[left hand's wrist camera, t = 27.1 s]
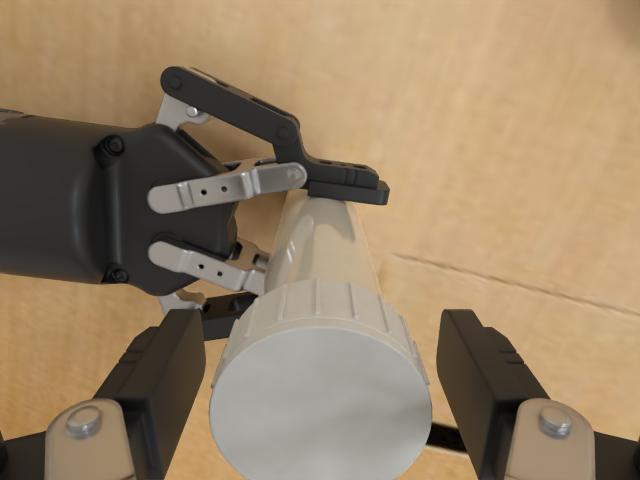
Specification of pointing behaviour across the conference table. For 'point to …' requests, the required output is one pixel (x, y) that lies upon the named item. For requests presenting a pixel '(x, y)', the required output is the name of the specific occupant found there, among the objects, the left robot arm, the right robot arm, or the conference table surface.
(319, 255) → the white bottle
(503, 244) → the conference table surface
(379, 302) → the lid
